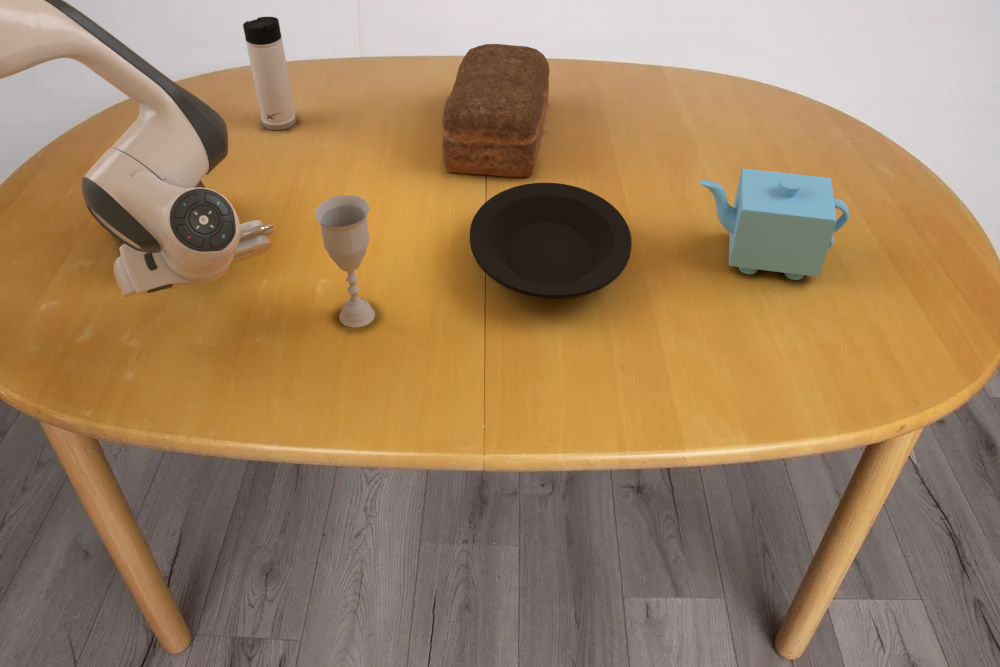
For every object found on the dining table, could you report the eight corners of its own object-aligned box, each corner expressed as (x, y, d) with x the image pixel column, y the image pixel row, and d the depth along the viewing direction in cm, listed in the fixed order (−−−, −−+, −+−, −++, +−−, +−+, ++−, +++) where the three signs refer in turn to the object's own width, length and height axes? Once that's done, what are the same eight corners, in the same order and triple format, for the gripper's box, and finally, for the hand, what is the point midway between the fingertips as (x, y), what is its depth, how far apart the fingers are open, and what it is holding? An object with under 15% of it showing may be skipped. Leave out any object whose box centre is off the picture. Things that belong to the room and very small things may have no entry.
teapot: (830, 244, 137) (854, 168, 128) (835, 288, 129) (861, 211, 120) (688, 227, 141) (702, 152, 131) (685, 269, 132) (699, 192, 123)
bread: (551, 99, 172) (554, 34, 163) (535, 184, 150) (537, 114, 141) (465, 93, 174) (464, 29, 165) (437, 176, 151) (433, 107, 142)
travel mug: (275, 135, 162) (254, 30, 148) (256, 122, 165) (234, 18, 152) (303, 123, 165) (286, 20, 151) (284, 111, 168) (266, 8, 155)
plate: (642, 322, 124) (646, 292, 120) (473, 328, 123) (472, 297, 119) (612, 209, 144) (615, 180, 140) (467, 213, 143) (467, 184, 139)
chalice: (361, 338, 121) (346, 233, 109) (322, 322, 123) (303, 217, 111) (391, 308, 126) (380, 204, 113) (352, 293, 128) (337, 189, 116)
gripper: (266, 201, 114) (255, 225, 127) (105, 249, 106) (110, 270, 119) (284, 246, 114) (271, 265, 127) (125, 298, 106) (128, 313, 119)
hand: (192, 268), depth 123 cm, fingers closed
